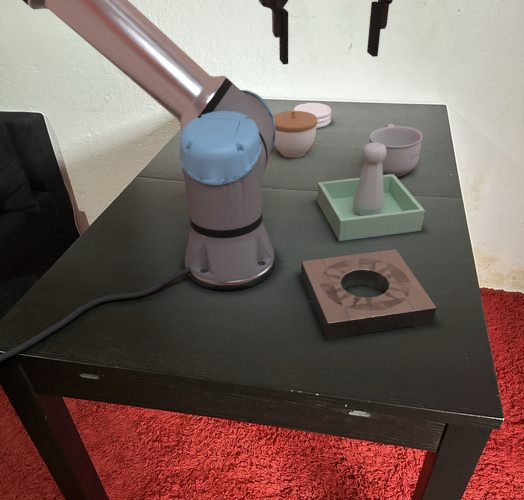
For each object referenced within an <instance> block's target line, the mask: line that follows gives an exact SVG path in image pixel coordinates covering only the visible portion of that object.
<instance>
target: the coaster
mask: <svg viewBox="0 0 524 500" xmlns="http://www.w3.org/2000/svg"><path fill="white" fill-rule="evenodd" d="M292 111H303V112H308V113H311V114H313V115H315V116H316V117H317V128H316V129H322V128H324V127H326V126H329V124H330V123H331V121H332V109H331V107H330V106H329V105H327V104H325V103H322V102H321V103H320V102H304V103H301V104H298V105H296V106H295V107H293V108H292Z"/></svg>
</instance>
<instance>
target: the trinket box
mask: <svg viewBox="0 0 524 500" xmlns="http://www.w3.org/2000/svg"><path fill="white" fill-rule="evenodd" d="M273 116H274V119H275V127H276V130H275V143H274V147H275V149H276V150H277V151H278V152H279V153H280V155H281V156H283V157H285V158H290V159H293V158H301V157H303V156H305V155H306V154H307V152H309V150H310V149H311V148H312V147H313V145H314V143H315V141H316V136H317V129H318V128H317V117H316V116H315V115H313V114H311V113H308V112H303V111H293V110H287V111H281V112H278V113H276V114H273Z"/></svg>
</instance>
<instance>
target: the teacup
mask: <svg viewBox="0 0 524 500" xmlns="http://www.w3.org/2000/svg"><path fill="white" fill-rule="evenodd" d="M423 137H424V136H423V133H422V132H421V131H420V130H418V129H417V128H413V127H409V126H404V125H403V126H402V125H399V126H397V125H394V124H393V123H388V124H386V125H385V127H381V128H377V129H375V130H374V131H372V132H371V133H370V134H369V137H368V139H369V143H374V142H375V143H381V144H383V145H385V147H386V149H387V155H386V158H385V159H384V160H383V161H382V165H383V175H389V174H394V175H395V176H396V177H397V178H399V177H402V176H405V175H407V174H408V173H409V172H411V171H412V170H414V169H415V168H416V166H417V164H418V162H419V158H420V155H421V148H422V141H423Z"/></svg>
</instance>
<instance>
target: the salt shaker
mask: <svg viewBox="0 0 524 500" xmlns="http://www.w3.org/2000/svg"><path fill="white" fill-rule="evenodd" d="M386 155H387V149H386V147H385V145H383V144H381V143H375V142H374V143H370V142H369V143H366V144H365V145H364V146H363V147H362V150H361V158H362V159H363V160H364V162H363V165H362V168H361V173H360V175H359V178H360V179H359V182H358V185H357V189H356V192H355V195H354V198H353V205H354V208H355V211H356V213H357V214H358V215H359V216H367V215H375V214H379V212H380V211H381V209H382V207H383V205H384V189H383V165H382V161H383V160H384V159H385V158H386Z"/></svg>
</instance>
